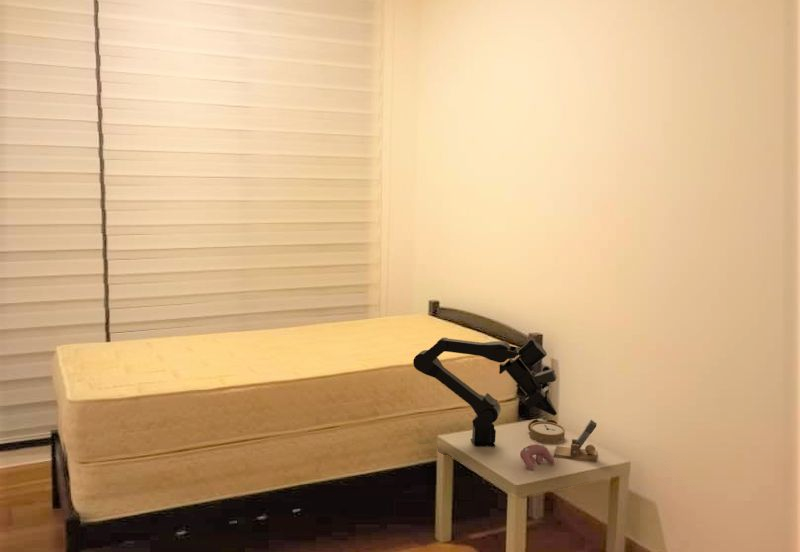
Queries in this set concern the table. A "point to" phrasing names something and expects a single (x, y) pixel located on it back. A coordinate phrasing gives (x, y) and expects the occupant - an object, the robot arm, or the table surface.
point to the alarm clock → (546, 431)
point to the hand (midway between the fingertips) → (555, 414)
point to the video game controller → (540, 454)
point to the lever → (586, 433)
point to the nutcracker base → (576, 452)
